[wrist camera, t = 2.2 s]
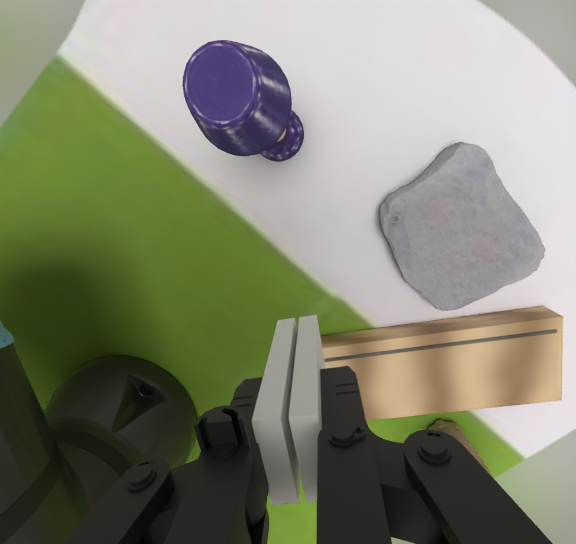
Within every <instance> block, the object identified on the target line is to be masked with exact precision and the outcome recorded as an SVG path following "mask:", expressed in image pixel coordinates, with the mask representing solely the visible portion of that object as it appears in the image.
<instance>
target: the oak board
mask: <svg viewBox="0 0 576 544" xmlns="http://www.w3.org/2000/svg"><path fill="white" fill-rule="evenodd" d="M320 337H321V343H322V349H323V355H324V360H325V366H326V368H334V367H342V366H349V367H350V368H351V369H352V370H353V371H354V372H355V373H356V377H357V381H358V386H359V391H360V395H361V400H362V405H363V409H364V414H365V419H366V421H368V420H377V419H387V418H396V417H406V416H416V415H425V414H435V413H444V412H454V411H464V410H473V409H483V408H493V407H502V406H512V405H521V404H531V403H541V402H550V401H560V400H562V346H563V316H561V315H559V314H557V313H555V312H554V311H552V310H550V309H548V308H546V307H544V306H539V307H531V308H524V309H516V310H509V311H502V312H494V313H487V314H480V315H472V316H465V317H457V318H450V319H443V320H435V321H428V322H421V323H413V324H406V325H398V326H391V327H384V328H376V329H369V330H362V331H354V332H347V333H339V334H332V335H325V336H320Z"/></svg>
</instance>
